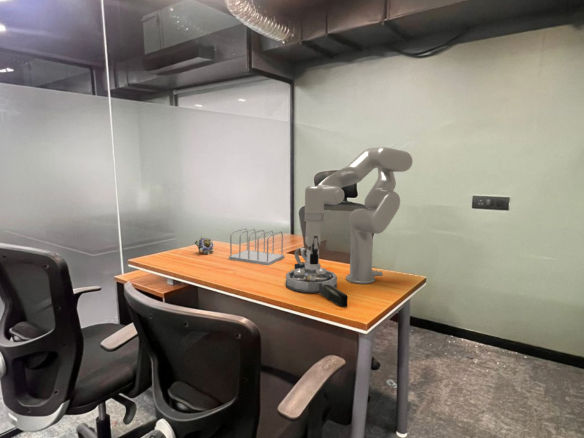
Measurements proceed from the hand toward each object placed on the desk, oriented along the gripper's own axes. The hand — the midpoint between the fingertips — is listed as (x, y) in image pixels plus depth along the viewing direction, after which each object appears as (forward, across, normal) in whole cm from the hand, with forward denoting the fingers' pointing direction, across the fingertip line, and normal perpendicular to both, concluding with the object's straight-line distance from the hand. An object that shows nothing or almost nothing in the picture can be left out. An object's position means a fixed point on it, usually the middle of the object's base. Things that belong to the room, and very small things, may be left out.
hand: (312, 261), depth 140 cm
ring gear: (+10, -6, 0) cm, 12 cm away
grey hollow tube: (+2, 0, 0) cm, 2 cm away
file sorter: (+12, -52, -22) cm, 58 cm away
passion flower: (+12, -68, -52) cm, 87 cm away
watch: (+12, -28, 0) cm, 30 cm away
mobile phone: (+12, +12, +6) cm, 18 cm away
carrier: (+11, -6, 0) cm, 13 cm away
